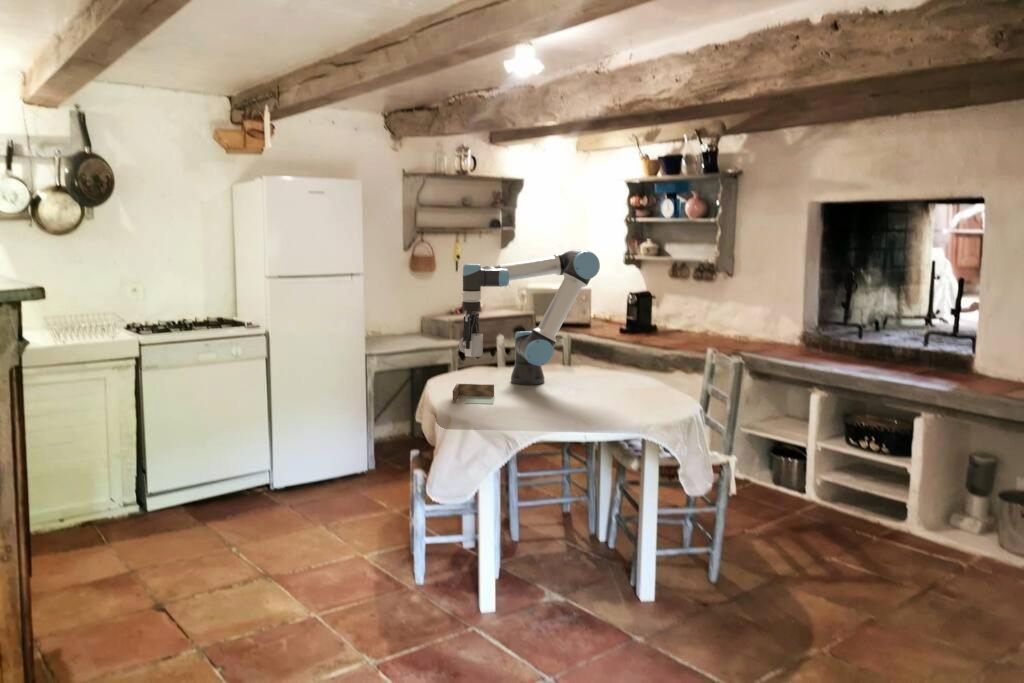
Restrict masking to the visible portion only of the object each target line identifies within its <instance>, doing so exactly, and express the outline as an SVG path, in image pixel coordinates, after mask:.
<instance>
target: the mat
mask: <svg viewBox="0 0 1024 683" xmlns="http://www.w3.org/2000/svg"><path fill="white" fill-rule="evenodd" d="M495 399H496V397H495V396H494V397H477V396H467V399H466V401H465V403H467V404H468V405H469V404H470V405H471V404H472V405H493V404H494V402H495ZM467 404H466V405H467Z"/></svg>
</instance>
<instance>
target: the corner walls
mask: <svg viewBox="0 0 1024 683" xmlns="http://www.w3.org/2000/svg"><path fill="white" fill-rule="evenodd" d="M468 396H476V397H495V384H491V383H486V384H485V383H456V384H455V386H454V387H453V390H452V404H456V403H457V402H456V401H458V400H459V398H460V397H468ZM458 397H459V398H458ZM457 399H458V400H457Z"/></svg>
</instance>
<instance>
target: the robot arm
mask: <svg viewBox="0 0 1024 683" xmlns="http://www.w3.org/2000/svg"><path fill="white" fill-rule="evenodd" d="M600 266H601V264H600V260H599V257H598V256H597V255H596V254H595V253H594V252H592V251H589V250H585V249H573V250H572V249H571V250H568V251H563V252H560V253H555V254H554V255H553V256H548V257H543V258H535V259H530V260H523V261H517V262H511V263H505V264H497V265H492V266H490V265H486V266H483V267H482V265H481V264H479V263H466V264H464V265H463V267H462V292H461V295H462V300H463V301H462V311H465V312H466V315H465V316H463V331H462V332H463V333H462V338H463V341H464V349H465V353H464V356H465V357H469V358H470V357H471V356H472V341H471V335H472V333H476V334H480V313H479V311H481V308H482V307H481V304H482V303H481V299H482V295H481V294H482V292H481V290H482V289H481V288H483V287H489V288H490V287H491V288H492V287H493V288H495V287H499V288H502V287H508V286H509V284H510V281H515V280H516V281H517V280H523V279H529V278H536V277H543V276H548V275H557V276H563V280H562V282H561V283H560V286H559V287H558V289H557V291H556V293H555V294H554V297H553V298H552V300H551V302H550V304H549V306H548V308H547V309H546V312H545V313H544V314H543V315H544V316H542V319H541V321H540V323H539V324H538V326H537V327H535V328H533V329H532V330H530V331H529V330H526V331H516V332H515V335H514V337H515V338H514V367H513V369H512V372H511V375H510V382H511V383H513V384H516V385H524V386H526V385H527V386H528V385H529V386H530V385H531V386H532V385H540V384H544V383H545V375H544V371H543V368H542V366H544V365H546V364H548V363H549V362H551V360H552V359H553V357H554V348H555V345H556V344H557V339H556V336H557V335H558V333H559V331H560V329H561V327H562V325H563V323H564V321H565V320H566V318H567V316H568V314H569V312H570V311H571V309H572V307H573V305H574V303H575V301H576V300H577V297H578V296H579V294H580V292H581V290H582V288H585V287H587V286H588V284H589V282H590V281H591V279H593V278H594V277H596V276H597V275H598V273H599V271H600ZM477 311H478V313H477ZM471 358H472V357H471Z"/></svg>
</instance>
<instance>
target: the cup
mask: <svg viewBox="0 0 1024 683" xmlns="http://www.w3.org/2000/svg"><path fill="white" fill-rule="evenodd" d="M483 335H484V334H483V333H479V334H476V333H472V335H471V341H472V356H471V358H479V357H482V356H483V355H484V354H483V353H484V351H483V350H484V336H483ZM464 343H465V341H463V337H461V338H460V339H459V343H458V344H459V345H458V347H459V351H460V352H462V353H463V354H465V347H464Z"/></svg>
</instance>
